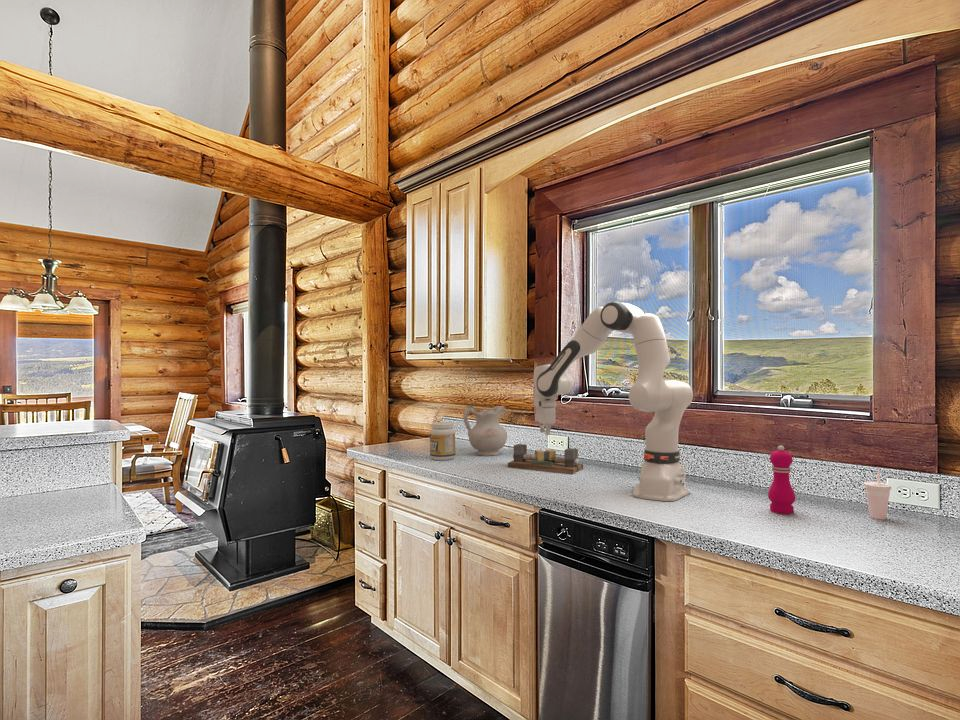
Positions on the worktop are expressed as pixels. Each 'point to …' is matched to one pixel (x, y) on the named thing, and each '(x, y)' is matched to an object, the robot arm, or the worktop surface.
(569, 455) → the shaft stand
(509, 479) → the worktop surface
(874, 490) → the smoothie
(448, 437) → the supplement tub
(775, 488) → the pepper mill
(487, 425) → the ceramic pitcher
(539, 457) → the coupling
